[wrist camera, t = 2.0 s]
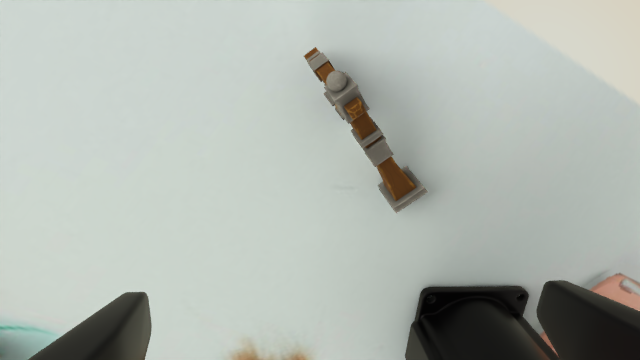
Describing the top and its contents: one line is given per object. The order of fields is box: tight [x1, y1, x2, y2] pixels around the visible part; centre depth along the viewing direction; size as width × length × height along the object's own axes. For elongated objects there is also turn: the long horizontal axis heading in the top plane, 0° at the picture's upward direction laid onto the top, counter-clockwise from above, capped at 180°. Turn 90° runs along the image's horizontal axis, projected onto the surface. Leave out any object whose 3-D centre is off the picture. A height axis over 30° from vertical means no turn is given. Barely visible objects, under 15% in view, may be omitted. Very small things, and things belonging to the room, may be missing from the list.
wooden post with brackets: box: [304, 47, 428, 213], centre depth 17 cm, size 2×8×4 cm, turn 35°
